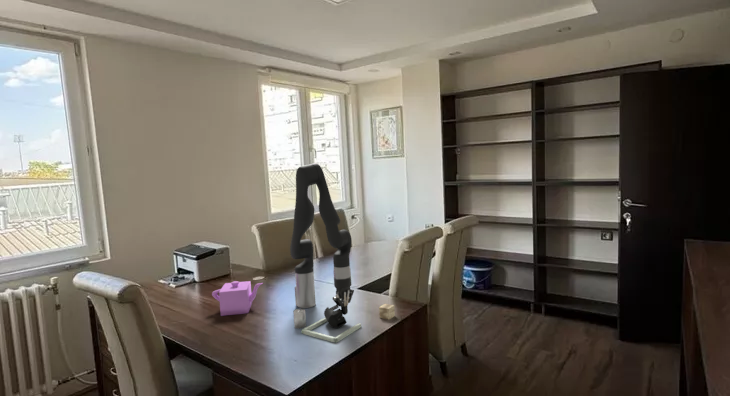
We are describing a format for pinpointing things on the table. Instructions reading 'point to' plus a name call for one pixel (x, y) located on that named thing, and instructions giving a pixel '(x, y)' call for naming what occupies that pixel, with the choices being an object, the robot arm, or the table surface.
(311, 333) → the pale green frame
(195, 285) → the table surface
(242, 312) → the teapot
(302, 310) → the grey metal tin
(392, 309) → the maple block
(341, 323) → the end cap
